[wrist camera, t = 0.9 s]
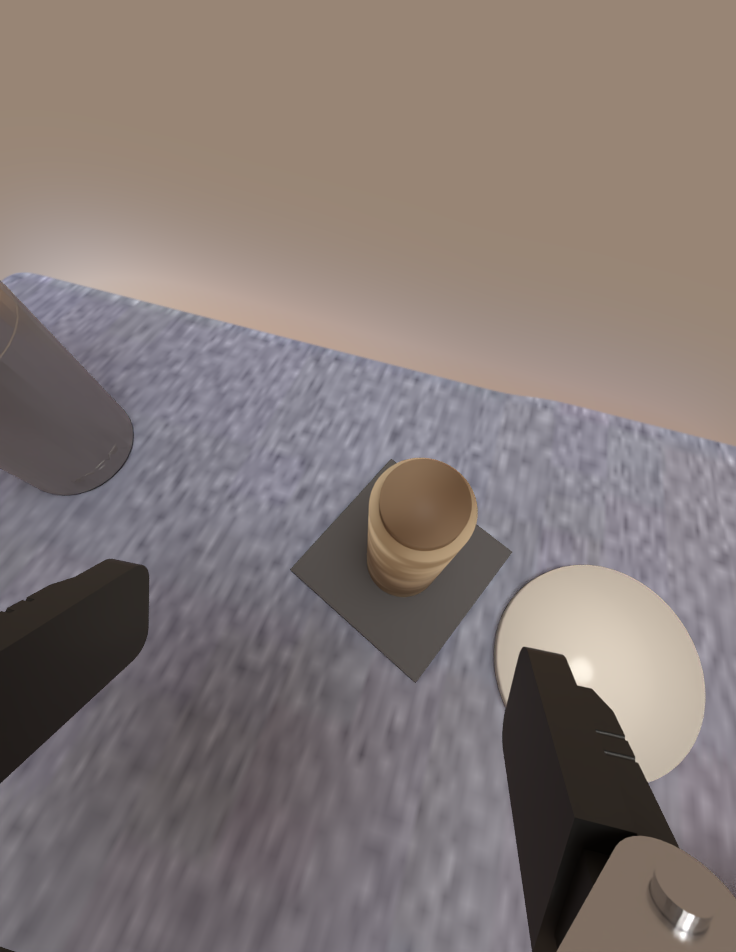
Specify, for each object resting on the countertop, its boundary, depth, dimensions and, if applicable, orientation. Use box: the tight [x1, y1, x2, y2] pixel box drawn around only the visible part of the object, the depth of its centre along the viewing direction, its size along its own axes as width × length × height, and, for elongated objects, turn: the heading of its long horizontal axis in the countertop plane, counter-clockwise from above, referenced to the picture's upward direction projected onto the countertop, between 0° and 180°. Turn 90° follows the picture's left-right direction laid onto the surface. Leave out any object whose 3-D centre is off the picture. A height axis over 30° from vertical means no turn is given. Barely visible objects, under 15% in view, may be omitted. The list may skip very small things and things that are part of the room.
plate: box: [494, 565, 705, 782], centre depth 32 cm, size 14×14×1 cm
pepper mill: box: [367, 458, 478, 597], centre depth 28 cm, size 5×5×14 cm
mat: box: [290, 459, 512, 683], centre depth 35 cm, size 12×12×1 cm
